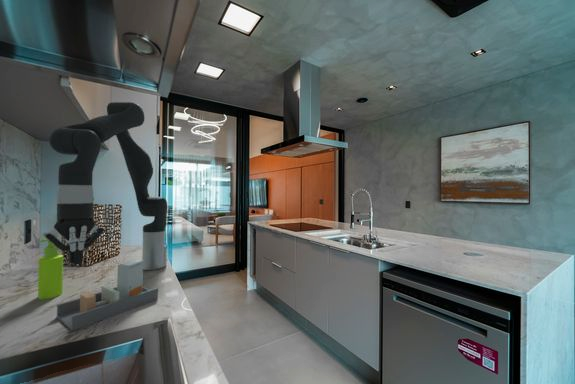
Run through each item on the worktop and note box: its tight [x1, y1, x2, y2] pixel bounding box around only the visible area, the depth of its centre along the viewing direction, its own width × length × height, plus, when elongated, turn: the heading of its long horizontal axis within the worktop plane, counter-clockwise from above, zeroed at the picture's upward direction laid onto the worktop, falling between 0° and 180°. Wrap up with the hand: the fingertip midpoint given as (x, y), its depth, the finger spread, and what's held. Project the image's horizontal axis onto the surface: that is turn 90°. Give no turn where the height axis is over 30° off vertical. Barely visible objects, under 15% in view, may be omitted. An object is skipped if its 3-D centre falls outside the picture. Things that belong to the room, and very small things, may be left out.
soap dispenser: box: [37, 236, 64, 300], centre depth 80 cm, size 6×7×20 cm
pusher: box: [79, 284, 119, 313], centre depth 70 cm, size 7×10×5 cm
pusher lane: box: [56, 285, 159, 332], centre depth 73 cm, size 22×12×4 cm, turn 148°
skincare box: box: [116, 259, 144, 300], centre depth 77 cm, size 6×4×12 cm
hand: (75, 263), depth 65 cm, fingers closed
